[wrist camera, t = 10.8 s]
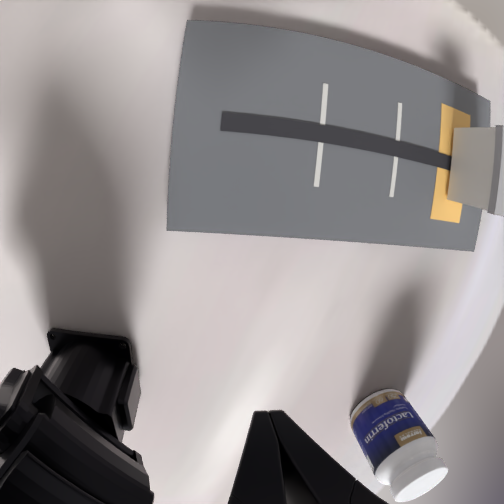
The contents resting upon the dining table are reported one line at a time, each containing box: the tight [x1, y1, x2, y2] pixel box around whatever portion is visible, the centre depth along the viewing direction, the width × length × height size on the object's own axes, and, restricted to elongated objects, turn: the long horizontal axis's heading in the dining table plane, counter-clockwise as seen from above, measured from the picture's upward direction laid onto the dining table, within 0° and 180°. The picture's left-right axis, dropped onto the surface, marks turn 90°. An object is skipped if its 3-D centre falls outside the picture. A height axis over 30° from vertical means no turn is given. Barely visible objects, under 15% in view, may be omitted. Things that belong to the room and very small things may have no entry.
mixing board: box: [167, 20, 490, 252], centre depth 18 cm, size 22×12×2 cm, turn 84°
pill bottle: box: [350, 389, 448, 502], centre depth 21 cm, size 6×6×10 cm
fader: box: [447, 125, 504, 217], centre depth 16 cm, size 3×5×5 cm, turn 174°
